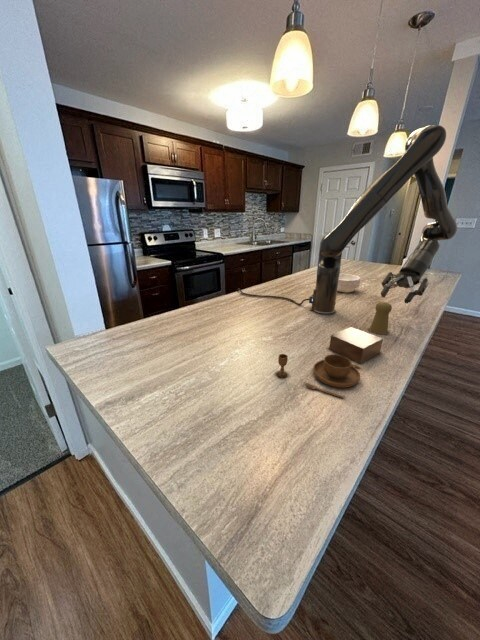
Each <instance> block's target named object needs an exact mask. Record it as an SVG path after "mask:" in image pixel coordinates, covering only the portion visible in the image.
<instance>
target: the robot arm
mask: <svg viewBox="0 0 480 640" xmlns="http://www.w3.org/2000/svg"><path fill="white" fill-rule="evenodd" d="M446 140H447V130H446V128H445V127H443V126H442V125H440V124H430V125H427V126H424V127H421V128H418V129H416V130H414V131H413V132H411V134H409V136H408V137H407V139H406V142H405V144H404V150H405V152H404V153H403V154H402V156H400V158H399V159H398V160H397V161H396V162H395V163H394V164H393V165H392V166H391V167H390V168H388V169H387V170H385V172H383V173H382V174H381V175H379V176H378V177H376V179H374V181H372V182H371V183H370V184H369V185H368V186H367V188H366V189H365V190H364V191H363V193H361V194H360V196H358V198H357V199H356V200H355V202H354V203H353V205H352V206H351V208H350V209H349V211H348V212H347V213H346V215H345V217H344V218H343V219H342V220H341V222H340V223H339V224H337V226H336V227H335V228H334V229H333V230H332V231H330V233H329V232H328V233H327V234H325V235H324V236H323V237H322V238H321V239H320V243H319V250H318V260H317V269H316V278H315V286H314V287H315V288H314V289H313V293H312V294H311V295H310V296H309V298H304V299H302V300H301V302H300V303H298V302H296V301H295V300H293V299H292V298H289V297H285V296H277V295H264V294H263V295H262V294H251V293H246V292H244V291H242V289H240V288H237V289H236V292H237V291H239V292H240V293H241V294H243V295H246V296H250V297H259V298H276V299H282V300H283V299H284V300H287V301H291V302H292V303H293V304H295V305H298V306H301V305H302V304H304V302H306V301H308V304H311V311H313V312H315V313H318V314H322V315H331V314H334V313H335V311H336V309H335V308H336V302H337V295H338V291H337V289H338V282H339V275H340V274H341V268H342V267H341V264H342V257H343V251H344V250H345V249H346V248H347V246H348V245H349V244H350V242H351V241H352V240H353V239H354V237H355V236H356V235H358V233H359V232H360V231H361V230H362V229H363V228H364V227H366V225H368V224H369V223H370V222H371V221H372V220H373V219H375V217H376V216H377V215H378V214H379V213H380V212H381V211H382V210H384V208H385V207H386V206H387V204H388V203H389V202H390V201H391V200H392V199H393V198H394V197H395V196H396V194H398V192H400V191H401V189H403V187H404V186H405V185H406V183H408V181H409V180H410V179H411V178H412V177H413V176H414V178H415V180H416V183H417V187H418V191H419V195H420V200H421V205H422V210H423V215H424V217H425V218H426V219H429V220H430V219H431V220H435V221H431V222H428V223H427V224H426V225H424V227H423V228H422V230H421V235H420V238H419V241H418V244H417V245H416V247H415V248H414V249H413V251H412V252H411V253H410V255H409V256H408V258H407V259H406V260H405V262H404V263H403V265H402V267H401V268H400V269H399V271H398V273H396V274H395V273H393V272H392V271H390V272H388V273H387V274H386V276H385V277H384V278H383V280H382V281H381V283H380V284H381V286H382V289H381V291H380V296H381V298H385V297H386V296H387V294H388V293H389V292H390V290H391V289H393V288H394V289H395V288H397V287H399V288H403V289H410V291H409V292H408V294H407V295H406V296H405V298H404V304H406V305H407V304H409V303H411V302H412V301H413V299H414V297H416V296H418V297H422V296H423V294H424V293H425V291H426V289H427V287H428V286H429V280H428V278H425V277H424V278H423V276H424V274H425V273H426V271H428V269H429V268H430V266H431V264H432V262H433V260H434V258H435V256H436V255H437V254H438V252H439V250H440V249H441V245H440V242H439V241H448V240H452V239H453V238H454V237H455V236H456V234H457V232H458V224H457V221H456V219H455V218H454V216H453V215H452V212H451V210H450V208H449V206H448V202H447V201H448V200H447V195H446V189H445V187H444V184H443V182H442V180H441V178H440V176H439V175H438V172H437V170H436V167H435V161H434V157H435V156H436V155H437V154H438V153H439V152H440V151H441V150H442V149H443V147H444V144H445V143H446ZM418 284H419V287H418V289H415V286H416V285H418Z"/></svg>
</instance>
